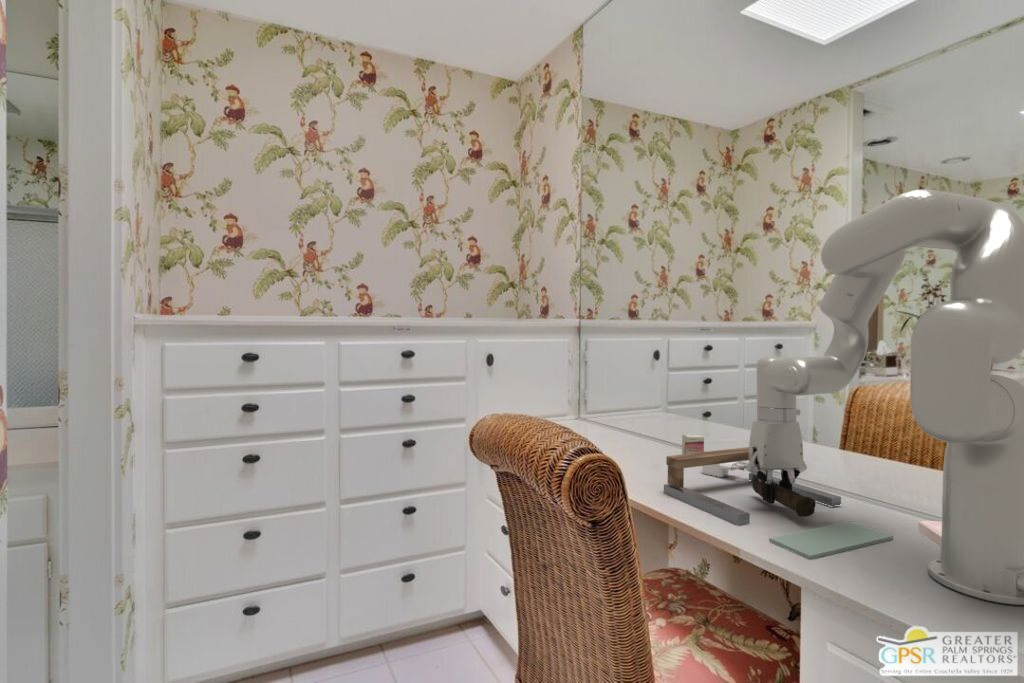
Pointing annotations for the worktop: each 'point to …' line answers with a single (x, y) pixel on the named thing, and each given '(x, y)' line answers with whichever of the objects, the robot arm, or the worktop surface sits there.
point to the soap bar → (931, 530)
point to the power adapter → (722, 468)
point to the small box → (692, 443)
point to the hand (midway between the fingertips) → (776, 500)
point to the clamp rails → (734, 513)
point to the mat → (830, 539)
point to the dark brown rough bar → (788, 498)
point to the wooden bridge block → (701, 462)
